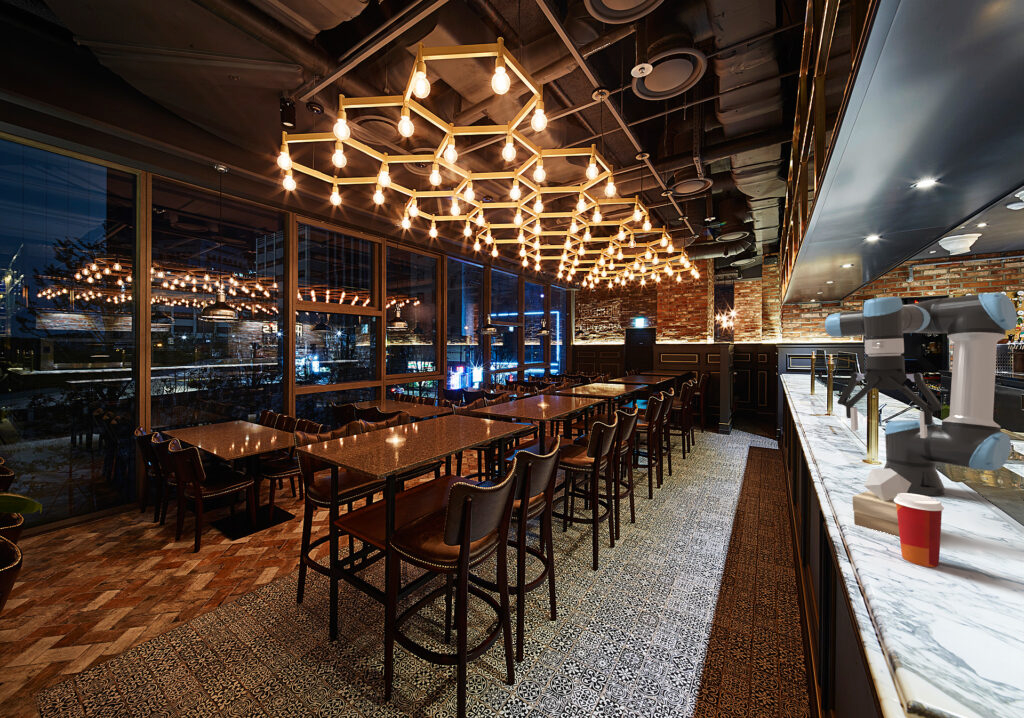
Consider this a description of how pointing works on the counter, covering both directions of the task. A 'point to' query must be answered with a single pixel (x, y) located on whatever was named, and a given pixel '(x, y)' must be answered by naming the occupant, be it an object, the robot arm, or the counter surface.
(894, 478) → the die
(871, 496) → the tower top slab
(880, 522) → the tower base slab
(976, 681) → the counter surface
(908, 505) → the paper cup
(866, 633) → the counter surface
